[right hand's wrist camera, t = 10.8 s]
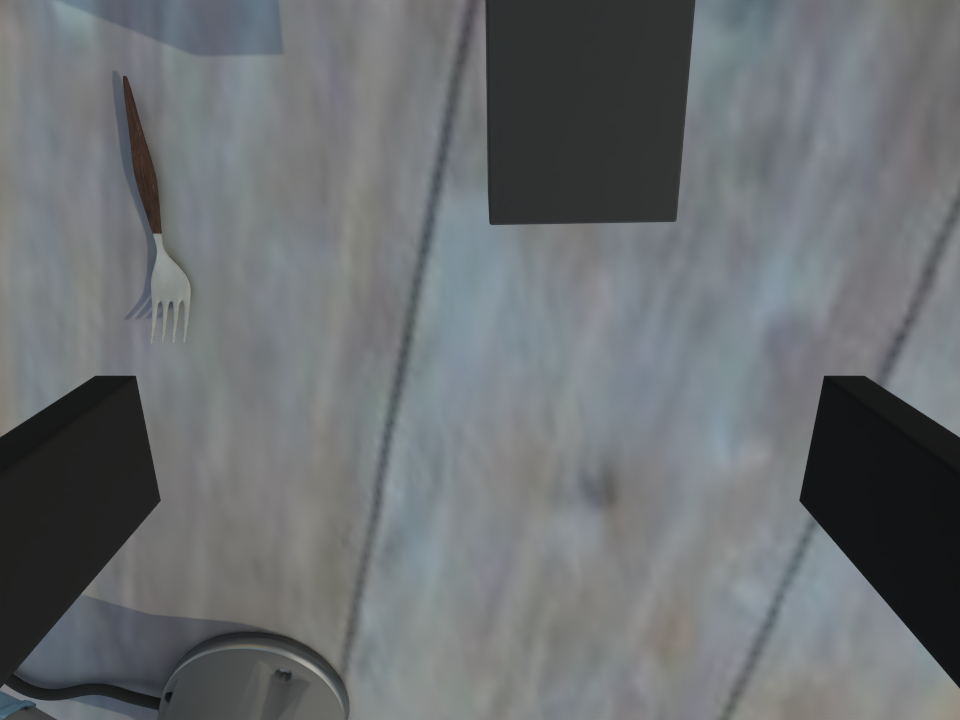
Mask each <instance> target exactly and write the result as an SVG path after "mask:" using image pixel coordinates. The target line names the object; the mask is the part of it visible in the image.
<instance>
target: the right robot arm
mask: <svg viewBox="0 0 960 720" xmlns="http://www.w3.org/2000/svg"><path fill="white" fill-rule="evenodd" d="M160 501H161V500H160V495H159V490H158V485H157V480H156V475H155V470H154V465H153V460H152V455H151V450H150V445H149V440H148V435H147V430H146V425H145V420H144V415H143V410H142V405H141V400H140V395H139V390H138V385H137V380H136V376H95V377H93V378H91V379H90V380H88V381H87V382H85V383H84V384H82V385H81V386H79V387H77V388H76V389H74V390H73V391H71V392H70V393H68V394H67V395H65V396H64V397H62V398H60V399H59V400H57V401H56V402H54V403H53V404H51V405H50V406H48V407H47V408H45V409H43V410H42V411H40V412H39V413H37V414H36V415H34V416H33V417H31V418H30V419H28V420H26V421H25V422H23V423H22V424H20V425H19V426H17V427H16V428H14V429H13V430H11V431H9V432H8V433H6V434H5V435H3V436H2V437H0V688H1V687H2V686H3V684H6V685H7V686H9V687H10V688H12V689H13V690H15V691H17V692H19V693H21V694H23V695H25V696H28V697H31V698H35V699H40V700H50V701H52V700H64V699H69V698H74V697H79V696H85V695H103V696H108V697H112V698H115V699H118V700H121V701H124V702H127V703H131V704H135V705H139V706H143V707H148V708H152V709H156V710H159V714H158V719H157V720H348V717H349V698H348V694H347V691H346V688H345V686H344V684H343V682H342V680H341V678H340V677H339V675H338V674H337V672H336V671H335V670H334V669H333V667H332V666H331V665H330V664H329V663H328V662H327V661H326V660H324V659H323V658H322V657H321V656H320V655H318V654H317V653H315V652H314V651H312V650H311V649H309V648H307V647H305V646H303V645H301V644H299V643H297V642H295V641H292V640H289V639H286V638H283V637H280V636H275V635H271V634H264V633H233V634H228V635H223V636H219V637H216V638H213V639H210V640H208V641H206V642H204V643H201V644H200V645H198V646H197V647H195V648H193V649H192V650H191V651H190V652H188V653H187V654H186V655H185V656H184V657H183V658H182V660H181V661H180V662H179V663H178V665H177V667H176V668H175V670H174V672H173V673H172V675H171V677H170V679H169V681H168V682H167V684H166V686H165V688H164V691H163V694H162V697H161V698H157V697H153V696H149V695H145V694H141V693H137V692H133V691H130V690H127V689H123V688H120V687H117V686H113V685H107V684H84V685H79V686H74V687H69V688H64V689H44V688H40V687H36V686H34V685H31V684H29V683H27V682H25V681H23V680H22V679H20V678H19V677H17V676H16V675H14V674H13V673H14V672H15V670H16V669H17V668H18V667H19V666H20V665H21V663H22V662H23V661H24V660H25V659H26V658H27V656H28V655H29V654H30V653H31V652H32V651H33V649H34V648H35V647H36V646H37V645H38V644H39V642H40V641H41V640H42V639H43V638H44V637H45V635H46V634H47V633H48V632H49V631H50V630H51V628H52V627H53V626H54V625H55V624H56V622H57V621H58V620H59V619H60V618H61V617H62V615H63V614H64V613H65V612H66V611H67V610H68V608H69V607H70V606H71V605H72V604H73V603H74V601H75V600H76V599H77V598H78V597H79V596H80V594H81V593H82V592H83V591H84V590H85V589H86V587H87V586H88V585H89V584H90V583H91V582H92V580H93V579H94V578H95V577H96V576H97V575H98V573H99V572H100V571H101V570H102V569H103V568H104V566H105V565H106V564H107V563H108V562H109V560H110V559H111V558H112V557H113V556H114V555H115V553H116V552H117V551H118V550H119V549H120V548H121V546H122V545H123V544H124V543H125V542H126V541H127V539H128V538H129V537H130V536H131V535H132V534H133V532H134V531H135V530H136V529H137V528H138V527H139V525H140V524H141V523H142V522H143V521H144V520H145V518H146V517H147V516H148V515H149V514H150V513H151V511H152V510H153V509H154V508H155V507H156V506H157V504H158V503H159V502H160ZM799 501H800V502H801V503H802V504H803V506H804V507H805V508H806V509H807V510H808V511H809V513H810V514H811V515H812V516H813V517H814V518H815V520H816V521H817V522H818V523H819V524H820V525H821V527H822V528H823V529H824V530H825V531H826V532H827V534H828V535H829V536H830V537H831V538H832V539H833V541H834V542H835V543H836V544H837V545H838V546H839V548H840V549H841V550H842V551H843V552H844V553H845V555H846V556H847V557H848V558H849V559H850V560H851V562H852V563H853V564H854V565H855V566H856V568H857V569H858V570H859V571H860V572H861V573H862V575H863V576H864V577H865V578H866V579H867V580H868V582H869V583H870V584H871V585H872V586H873V587H874V589H875V590H876V591H877V592H878V593H879V594H880V596H881V597H882V598H883V599H884V600H885V601H886V603H887V604H888V605H889V606H890V607H891V608H892V610H893V611H894V612H895V613H896V614H897V615H898V617H899V618H900V619H901V620H902V621H903V622H904V624H905V625H906V626H907V627H908V628H909V630H910V631H911V632H912V633H913V634H914V635H915V637H916V638H917V639H918V640H919V641H920V642H921V644H922V645H923V646H924V647H925V648H926V649H927V651H928V652H929V653H930V654H931V655H932V656H933V658H934V659H935V660H936V661H937V662H938V663H939V665H940V666H941V667H942V668H943V669H944V670H945V672H946V673H947V674H948V675H949V676H950V677H951V679H952V680H953V681H954V682H955V683H956V684H957V686H958V687H959V688H960V437H958V436H957V435H955V434H954V433H952V432H951V431H949V430H947V429H946V428H944V427H943V426H941V425H940V424H938V423H937V422H935V421H934V420H932V419H930V418H929V417H927V416H926V415H924V414H923V413H921V412H920V411H918V410H917V409H915V408H913V407H912V406H910V405H909V404H907V403H906V402H904V401H903V400H901V399H900V398H898V397H896V396H895V395H893V394H892V393H890V392H889V391H887V390H886V389H884V388H883V387H881V386H879V385H878V384H876V383H875V382H873V381H872V380H870V379H869V378H867V377H865V376H824V380H823V385H822V390H821V395H820V400H819V405H818V410H817V415H816V420H815V425H814V430H813V435H812V440H811V445H810V450H809V455H808V460H807V465H806V470H805V475H804V480H803V485H802V490H801V495H800V500H799ZM35 706H36V704H35V703H33V702H32V701H28V700H24V701H20V700H18V699H16V698H14V697H12V696H10V695H8V694H6V693H4V692H2V691H0V720H56V719H55V718H53V717H51V716H50V715H48V714H46V713H44V712H43V711H41V710H39V709H37V708H36V707H35Z"/></svg>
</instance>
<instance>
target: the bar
mask: <svg viewBox="0 0 960 720" xmlns="http://www.w3.org/2000/svg"><path fill="white" fill-rule="evenodd" d="M485 1H486V78H487V154H488V202H489V222H490V224H491V225H514V224H572V223H631V222H675V221H676V219H677V208H678V196H679V184H680V173H681V161H682V149H683V138H684V126H685V114H686V103H687V91H688V79H689V68H690V56H691V44H692V33H693V21H694V9H695V0H485Z"/></svg>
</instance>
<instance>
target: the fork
mask: <svg viewBox="0 0 960 720" xmlns="http://www.w3.org/2000/svg"><path fill="white" fill-rule="evenodd" d="M123 85H124V94H125V102H126V110H127V118H128V125H129V133H130V142H131V151H132V160H133V167H134V173H135V178H136V182H137V186H138V189H139V193H140V196H141V199H142V202H143V205H144V208H145V211H146V214H147V217H148V220H149V223H150V226H151V230H152V233H153V236H154V239H155V243H156V247H157V257H156V261H155V265H154V268H153V272H152V276H151V299H152V329H151V344H153V339H154V332H155V325H156V317H157V309H158V304H159V302H162V307H163V321H162V343H164V337H165V330H166V323H167V315H168V306H169V303H170V301H172V303H173V343H174V341H175V335H176V328H177V321H178V312H179V305H180V302H181V301H183V303H184V339H183V342H184V343H185V341H186V333H187V326H188V318H189V308H190V296H191V288H190V283H189V280H188V278H187V276H186V275H185V273H184V272H183V271H182V270H181V268H180V267H179V266H178V265H177V264H176V263H175V262H174V261H173V260H172V259H171V258H170V257H169V256H168V254H167V253H166V251H165V249H164V246H163V241H162V232H161V220H160V207H159V196H158V187H157V180H156V175H155V171H154V167H153V164H152V160H151V157H150V154H149V150H148V147H147V144H146V141H145V137H144V134H143V131H142V127H141V124H140V120H139V116H138V113H137V109H136V105H135V102H134V98H133V95H132V91H131V88H130V85H129V82H128V79H127V77H126V76H123Z"/></svg>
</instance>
